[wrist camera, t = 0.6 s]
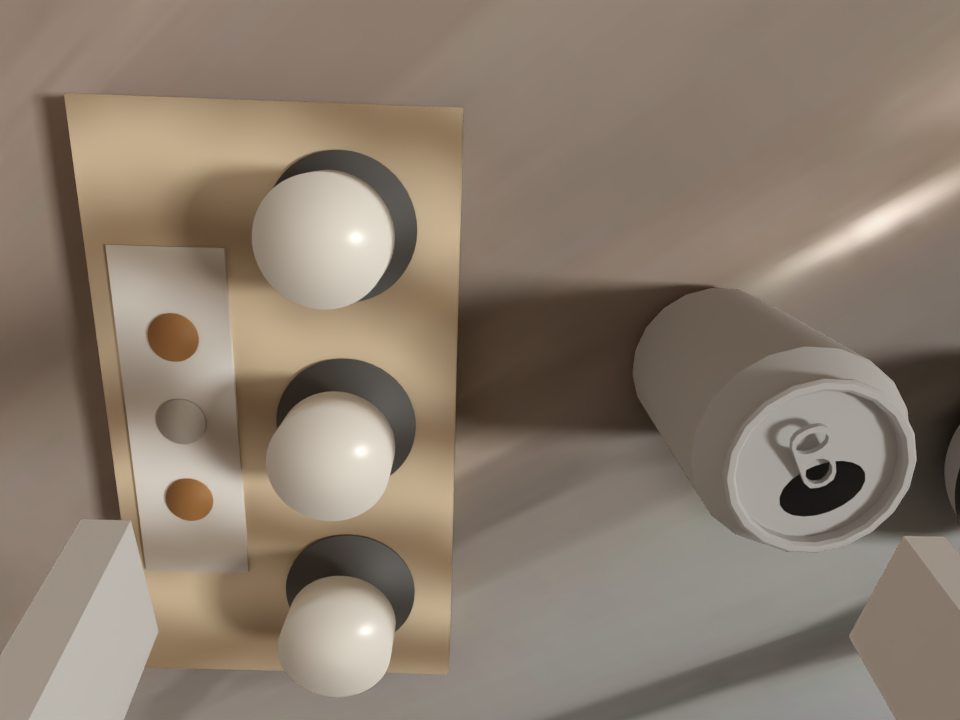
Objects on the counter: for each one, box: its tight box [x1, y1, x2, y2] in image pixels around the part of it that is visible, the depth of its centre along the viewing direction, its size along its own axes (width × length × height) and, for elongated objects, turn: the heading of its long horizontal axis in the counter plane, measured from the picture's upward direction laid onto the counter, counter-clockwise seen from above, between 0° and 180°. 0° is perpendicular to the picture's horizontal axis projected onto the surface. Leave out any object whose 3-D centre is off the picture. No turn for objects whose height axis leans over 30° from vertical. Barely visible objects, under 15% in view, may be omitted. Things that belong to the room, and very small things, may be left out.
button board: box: [64, 93, 463, 674], centre depth 33 cm, size 28×16×2 cm, turn 178°
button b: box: [266, 391, 395, 521], centre depth 29 cm, size 5×5×2 cm
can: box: [632, 288, 917, 553], centre depth 28 cm, size 8×8×12 cm
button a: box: [278, 576, 396, 697], centre depth 32 cm, size 5×5×2 cm
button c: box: [252, 170, 395, 310], centre depth 27 cm, size 5×5×2 cm
